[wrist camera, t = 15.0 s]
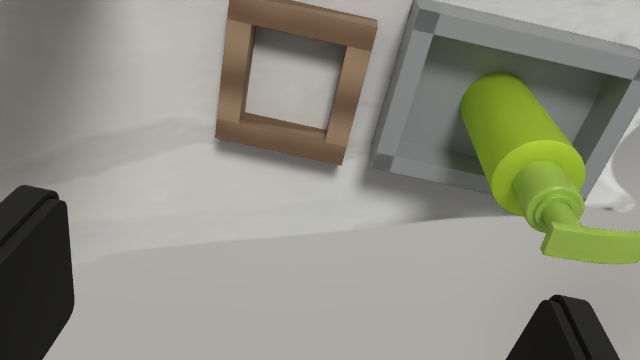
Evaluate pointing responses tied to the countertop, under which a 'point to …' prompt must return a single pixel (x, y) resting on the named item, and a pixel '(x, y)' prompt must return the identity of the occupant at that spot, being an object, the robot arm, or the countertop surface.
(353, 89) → the walnut holder
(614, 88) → the slate tray
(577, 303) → the robot arm
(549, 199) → the soap dispenser
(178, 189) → the countertop surface
